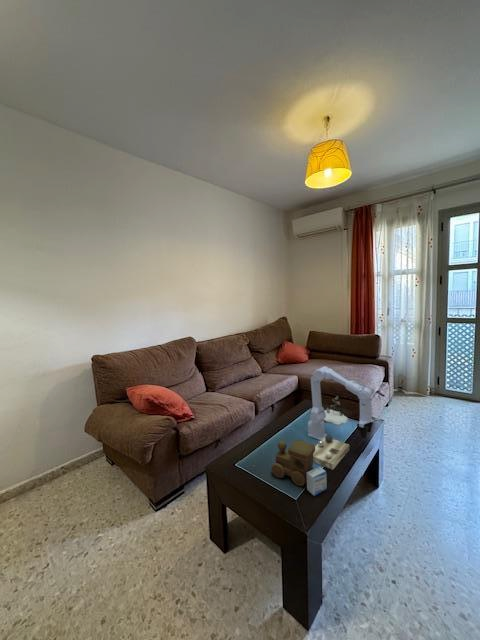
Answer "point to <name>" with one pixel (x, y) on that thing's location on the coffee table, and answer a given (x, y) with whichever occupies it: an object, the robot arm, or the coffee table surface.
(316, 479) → the medicine box
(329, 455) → the cream plastic ball
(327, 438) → the black rubber ball
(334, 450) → the cream knobbed board
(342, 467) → the coffee table surface
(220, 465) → the coffee table surface
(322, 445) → the steel ball
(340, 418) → the figurine
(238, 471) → the coffee table surface
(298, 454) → the wooden toy train
